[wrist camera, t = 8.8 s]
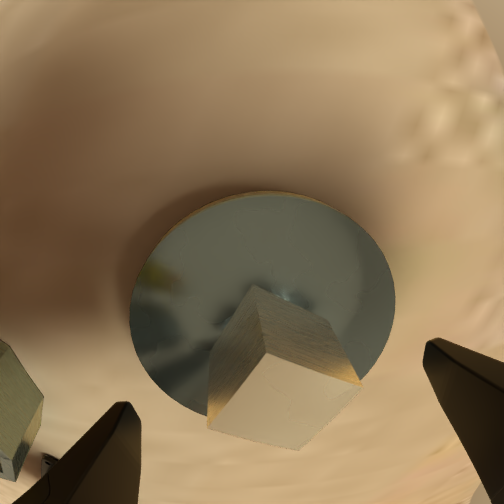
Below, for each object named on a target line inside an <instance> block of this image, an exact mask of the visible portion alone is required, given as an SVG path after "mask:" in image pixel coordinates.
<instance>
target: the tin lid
mask: <svg viewBox="0 0 504 504" xmlns="http://www.w3.org/2000/svg"><path fill="white" fill-rule="evenodd" d="M394 313H395V290H394V282H393V278H392V275H391V271H390V268H389V265H388V263H387V261H386V259H385V257H384V255H383V253H382V251H381V250H380V248H379V247H378V245H377V244H376V242H375V241H374V240H373V239H372V238H371V237H370V236H369V234H368V233H367V232H366V231H365V230H364V229H363V228H362V227H360V226H359V225H358V224H357V223H355V222H354V221H353V220H351V219H350V218H349V217H347V216H346V215H344V214H343V213H341V212H340V211H338V210H336V209H335V208H333V207H331V206H329V205H327V204H325V203H324V202H321V201H319V200H316V199H313V198H310V197H308V196H304V195H300V194H295V193H290V192H281V191H255V192H246V193H241V194H236V195H232V196H228V197H225V198H222V199H219V200H216V201H214V202H211V203H209V204H207V205H205V206H203V207H201V208H199V209H197V210H195V211H193V212H192V213H190V214H189V215H188V216H186V217H185V218H183V219H182V220H181V221H179V222H178V223H177V224H176V225H175V226H174V227H173V228H171V229H170V230H169V231H168V232H167V233H166V234H165V235H164V236H163V238H162V239H161V240H160V242H159V243H158V244H157V246H156V247H155V248H154V249H153V251H152V253H151V254H150V256H149V257H148V259H147V261H146V263H145V264H144V266H143V268H142V270H141V272H140V274H139V276H138V278H137V281H136V284H135V287H134V290H133V293H132V298H131V304H130V330H131V337H132V341H133V344H134V347H135V351H136V353H137V355H138V357H139V360H140V362H141V364H142V366H143V367H144V369H145V370H146V372H147V373H148V375H149V376H150V377H151V379H152V380H153V381H154V382H155V383H156V384H157V385H158V386H159V388H161V389H162V390H163V391H164V392H165V393H166V394H167V395H169V396H170V397H171V398H172V399H174V400H175V401H177V402H178V403H180V404H181V405H183V406H185V407H187V408H189V409H191V410H193V411H194V412H197V413H199V414H202V415H205V416H207V428H208V429H211V430H215V431H218V432H221V433H225V434H228V435H232V436H236V437H239V438H243V439H247V440H251V441H255V442H259V443H263V444H267V445H272V446H276V447H281V448H286V449H291V450H296V451H299V450H300V449H301V448H302V447H303V446H304V445H306V444H307V443H308V442H309V441H310V440H311V439H312V438H313V437H314V436H315V435H317V434H318V433H319V432H320V431H321V430H322V429H323V428H324V427H325V426H326V425H327V424H328V423H329V422H330V421H331V420H332V419H333V418H334V417H335V416H336V415H337V414H338V413H339V412H340V411H341V410H342V409H343V408H344V407H345V406H346V405H347V404H348V403H349V402H350V401H351V400H352V399H353V398H354V397H355V396H356V395H357V394H358V393H359V392H360V391H361V390H362V388H363V386H362V384H361V382H360V380H361V379H362V378H363V377H364V376H365V375H366V374H367V373H368V372H369V370H370V369H371V368H372V367H373V365H374V364H375V362H376V361H377V359H378V358H379V356H380V354H381V353H382V351H383V349H384V347H385V345H386V342H387V340H388V338H389V335H390V331H391V328H392V325H393V319H394Z"/></svg>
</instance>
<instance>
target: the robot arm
mask: <svg viewBox="0 0 504 504" xmlns="http://www.w3.org/2000/svg"><path fill="white" fill-rule="evenodd" d="M423 367H424V370H425V372H426V374H427V376H428V378H429V381H430V383H431V385H432V387H433V390H434V392H435V394H436V396H437V399H438V401H439V403H440V405H441V407H442V409H443V411H444V412H445V414H446V416H447V417H448V419H449V421H450V423H451V425H452V426H453V428H454V430H455V432H456V433H457V435H458V437H459V439H460V441H461V443H462V444H463V446H464V448H465V450H466V452H467V454H468V456H469V458H470V460H471V462H472V463H473V465H474V467H475V469H476V471H477V473H478V475H479V477H480V479H481V481H482V483H483V485H484V488H485V490H486V492H487V494H488V496H489V498H490V500H491V503H492V504H504V362H501V361H498V360H496V359H493V358H491V357H488V356H485V355H483V354H480V353H478V352H475V351H473V350H470V349H467V348H465V347H462V346H460V345H457V344H455V343H452V342H449V341H447V340H444V339H442V338H434V339H432V340H429V341H427V343H426V345H425V351H424V356H423ZM140 474H141V420H140V418H139V416H138V415H137V413H136V411H135V410H134V408H133V406H132V405H131V403H130V402H128V401H121V402H116V403H115V404H114V405H113V406H112V407H111V408H110V409H109V410H108V411H107V412H106V413H105V414H104V415H103V416H102V417H101V418H100V419H99V420H98V421H97V422H96V423H95V424H94V425H93V426H92V427H91V428H90V429H89V430H88V431H87V432H86V433H85V434H84V435H83V436H82V437H81V438H80V439H79V440H78V441H77V442H76V443H75V444H74V445H73V446H72V447H71V448H70V449H69V450H68V451H67V452H66V453H65V454H64V455H63V456H62V458H61V459H60V460H59V461H56V460H54V459H52V458H50V457H48V456H43V458H42V467H41V479H40V480H39V481H37V482H36V483H35V484H34V485H33V486H32V487H31V488H30V489H29V490H28V491H27V492H25V493H24V494H23V495H22V496H21V497H20V498H18V499H17V500H16V501H15V502H13V503H12V504H138V494H139V484H140Z"/></svg>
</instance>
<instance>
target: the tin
mask: <svg viewBox="0 0 504 504" xmlns="http://www.w3.org/2000/svg"><path fill="white" fill-rule="evenodd" d="M43 398H44V396H43V395H42V394H41V392H40V391H39V390H38V388H37V387H36V386H35V384H34V383H33V381H32V380H31V379H30V377H29V376H28V374H27V373H26V371H25V370H24V368H23V367H22V365H21V364H20V362H19V361H18V359H17V358H16V356H15V354H14V353H13V351H12V350H11V348H10V346H8V345H7V344H5V343H4V342H2V341H1V340H0V478H3V479H6V480H10V481H13V482H16V480H17V478H18V476H19V473H20V471H21V468H22V466H23V464H24V461H25V459H26V457H27V454H28V452H29V450H30V448H31V445H32V443H33V441H34V439H35V437H36V434H37V432H38V430H39V428H40V426H41V416H42V406H43Z"/></svg>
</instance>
